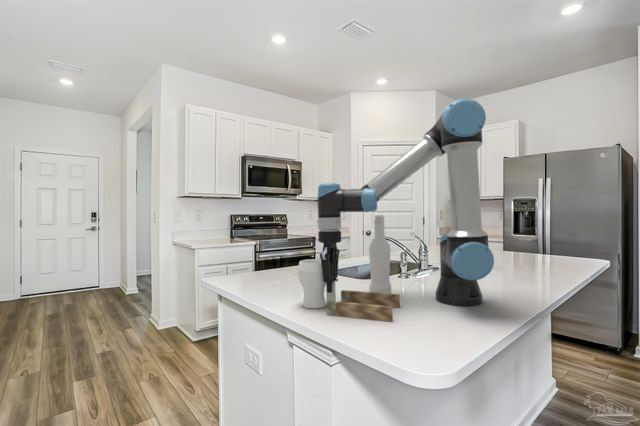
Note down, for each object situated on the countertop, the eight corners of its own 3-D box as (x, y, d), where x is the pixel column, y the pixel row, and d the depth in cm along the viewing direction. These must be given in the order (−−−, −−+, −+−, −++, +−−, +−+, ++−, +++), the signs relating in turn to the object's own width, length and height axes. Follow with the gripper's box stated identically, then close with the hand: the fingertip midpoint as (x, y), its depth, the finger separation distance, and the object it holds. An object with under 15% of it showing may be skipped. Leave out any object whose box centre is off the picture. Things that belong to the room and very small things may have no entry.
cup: (331, 301, 120) (330, 259, 120) (327, 310, 109) (327, 263, 109) (302, 300, 121) (301, 258, 121) (295, 309, 111) (294, 263, 111)
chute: (400, 306, 112) (399, 294, 112) (391, 321, 98) (391, 307, 98) (342, 301, 120) (342, 290, 120) (326, 314, 105) (326, 301, 105)
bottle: (367, 297, 125) (365, 215, 124) (372, 292, 132) (371, 214, 132) (389, 299, 122) (388, 215, 121) (393, 293, 129) (392, 214, 129)
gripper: (326, 229, 120) (327, 295, 120) (311, 231, 108) (313, 305, 108) (346, 229, 117) (347, 297, 118) (333, 231, 105) (335, 307, 105)
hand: (331, 301), depth 113 cm, fingers closed
